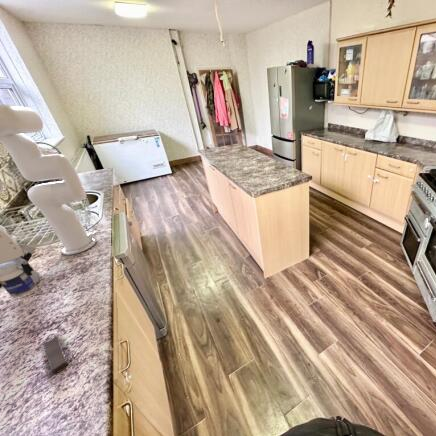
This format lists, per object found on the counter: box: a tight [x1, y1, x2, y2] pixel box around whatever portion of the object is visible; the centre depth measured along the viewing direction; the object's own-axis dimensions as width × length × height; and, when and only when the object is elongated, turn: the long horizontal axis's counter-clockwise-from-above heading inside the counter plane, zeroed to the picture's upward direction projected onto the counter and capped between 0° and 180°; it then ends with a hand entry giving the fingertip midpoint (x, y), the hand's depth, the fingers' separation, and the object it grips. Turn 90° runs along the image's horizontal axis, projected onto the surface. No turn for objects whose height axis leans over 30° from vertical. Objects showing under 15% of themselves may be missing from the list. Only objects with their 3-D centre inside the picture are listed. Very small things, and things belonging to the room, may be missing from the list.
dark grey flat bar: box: [43, 335, 69, 374], centre depth 63 cm, size 12×3×1 cm, turn 51°
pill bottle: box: [0, 262, 37, 298], centre depth 70 cm, size 6×6×10 cm
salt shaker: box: [5, 259, 41, 284], centre depth 87 cm, size 6×6×13 cm
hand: (15, 279), depth 70 cm, fingers closed on pill bottle, 5 cm apart
